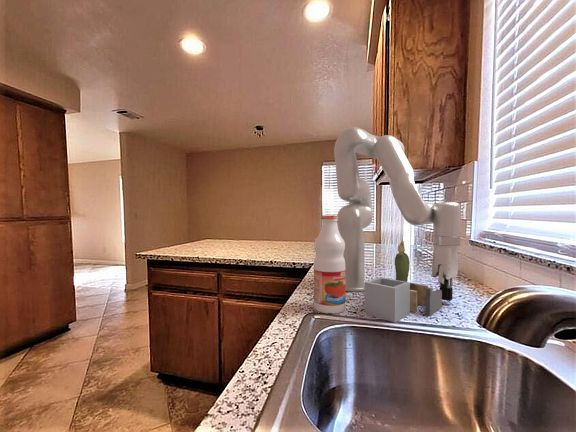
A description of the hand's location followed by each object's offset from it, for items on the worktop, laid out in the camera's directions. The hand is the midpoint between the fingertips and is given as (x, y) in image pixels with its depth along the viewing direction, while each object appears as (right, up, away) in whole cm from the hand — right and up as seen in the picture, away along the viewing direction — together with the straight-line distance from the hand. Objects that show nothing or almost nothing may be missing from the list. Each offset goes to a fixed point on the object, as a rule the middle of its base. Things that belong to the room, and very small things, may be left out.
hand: (446, 299), depth 90 cm
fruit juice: (-38, -2, -5) cm, 38 cm away
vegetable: (-14, -2, 0) cm, 14 cm away
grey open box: (-22, -2, -9) cm, 24 cm away
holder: (-14, -1, 0) cm, 14 cm away
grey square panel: (-8, -2, -7) cm, 10 cm away
